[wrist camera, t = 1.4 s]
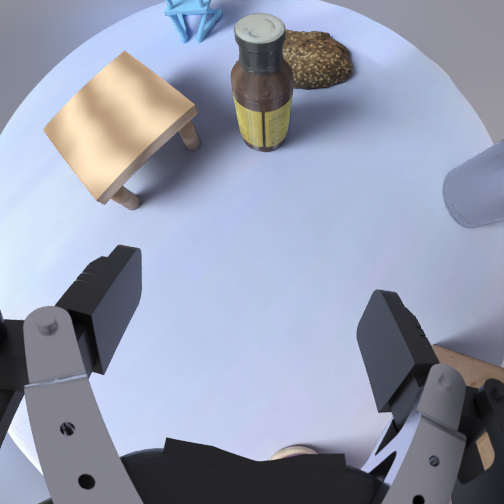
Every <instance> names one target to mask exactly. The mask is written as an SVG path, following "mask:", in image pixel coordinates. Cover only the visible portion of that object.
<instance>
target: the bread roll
mask: <svg viewBox="0 0 504 504" xmlns="http://www.w3.org/2000/svg"><path fill="white" fill-rule="evenodd" d="M285 33H286V34H285V36H286V39H285V42H284V44H283V58H284V59H285V60H286V61H287V62H288V64H289V65H290V67H291V69H292V72H293V88H302V89H312V88H314V89H316V88H327V87H329V86H332V85H333V84H338V83H340V82H343V81H346V80H347V79H348V78H349V77H350V75H351V74H352V73H353V69H352V68H353V65H352V63H351V59H350V52H349V50H348V49H347V48H346V47H345V46H344V45H342V44H341V43H339V42H337V41H335V40H334V39H332V38H331V37H330V34H329V33H324V32H317V31H311V32H304V31H301V32H298V31H292V30H291V31H290V30H288V29H287V30H285Z"/></svg>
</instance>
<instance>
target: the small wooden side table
mask: <svg viewBox="0 0 504 504" xmlns="http://www.w3.org/2000/svg"><path fill="white" fill-rule="evenodd" d="M197 114H198V112H197V109H196V106H195V104H194V103H192V102H191V101H190V100H189V99H187V98H186V97H185V96H184V95H182V94H181V93H180V92H179V91H177V90H176V89H175V88H173V87H172V86H171V85H170V84H168V83H167V82H166V81H164V80H163V79H162V78H161V77H159V76H158V75H157V74H155V73H154V72H153V71H151V70H150V69H149V68H147V67H146V66H145V65H143V64H142V63H141V62H139V61H138V60H137V59H135V58H134V57H132V56H131V55H130V54H128V53H127V52H126V51H124V52H123V53H121V54H120V55H119V56H118V57H117V58H115V59H114V60H113V61H112V62H111V63H109V64H108V65H107V66H106V67H105V68H104V69H102V70H101V71H100V72H99V73H98V74H97V75H96V76H95V77H94V78H92V79H91V80H90V81H89V82H88V83H87V84H86V85H85V86H84V87H83V88H82V89H81V90H80V91H79V92H78V93H77V94H76V95H75V96H74V97H73V98H72V99H71V100H70V101H69V102H68V103H67V104H66V105H65V106H64V107H63V108H62V109H61V110H60V111H59V112H58V113H57V114H56V115H55V116H54V117H53V119H52V120H51V121H50V122H49V123H48V124H47V125H46V126H45V128H44V129H43V130H44V132H45V133H46V135H47V136H48V138H49V139H50V140H51V142H52V143H53V144H54V146H55V147H56V149H57V150H58V151H59V153H60V154H61V155H62V157H63V158H64V159H65V161H66V162H67V163H68V165H69V166H70V167H71V169H72V170H73V171H74V173H75V174H76V175H77V177H78V178H79V179H80V181H81V182H82V183H83V184H84V186H85V187H86V188H87V189H88V191H89V192H90V193H91V195H92V196H93V197H94V198H95V200H96V201H98V202H100V203H102V204H104V205H105V204H106V203H107V202H108V201H109V200H110V199H112V200H114V201H116V202H117V203H119V204H121V205H123V206H124V207H126V208H128V209H130V210H135V209H137V208H138V207H139V205H140V199H139V197H138V196H136V195H135V194H133V193H132V192H131V191H129V190H128V189H126V188H125V187H124V186H123V185H124V184H125V182H126V181H127V180H128V179H129V178H130V177H131V176H132V175H133V174H134V173H135V172H136V171H137V170H138V169H139V168H140V167H141V166H142V165H143V164H144V163H145V162H146V161H147V160H148V159H149V158H150V157H151V156H152V155H153V154H154V153H155V152H156V151H157V150H159V149H160V148H161V147H162V146H163V145H164V144H165V143H166V142H167V141H168V140H169V139H170V138H171V137H172V136H174V135H175V134H176V133H177V132H178V133H179V135H180V137H181V139H182V141H183V142H184V144H185V146H186V148H187V149H188V150H190V151H194V150H197V149H198V148H199V146H200V140H199V138H198V135H197V133H196V130H195V128H194V126H193V123H192V121H191V120H192V119H193V118H194V117H195V116H196V115H197Z"/></svg>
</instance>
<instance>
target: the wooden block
mask: <svg viewBox="0 0 504 504" xmlns="http://www.w3.org/2000/svg"><path fill="white" fill-rule="evenodd" d="M432 348H433V350H434V352H435V354H436V356H437V358H438V360H439V362H440V364H446V365H449V366H451V367H453V368H454V369H456V370H457V371H458V372H459V373H460V374H461V376H462V377H463V379H464V381H465V384H466V385H467V386H471V387H475V388H478V389H479V388H480V387H481V386H482V385H483V384H484V382H485V381H486V380H487V379H489V378H494V379H497V380H499V381H501V382H502V383H504V368H502V367H499V366H496V365H493V364H490V363H487V362H484V361H481V360H478V359H475V358H472V357H469V356H466V355H463V354H460V353H457V352H454V351H451V350H448V349H445V348H443V347H440V346H437V345H433V346H432ZM476 444H477V447H478V450H479V453H480V456H481V460H482V463H483V466H484V470H486V469H488V468H489V467H490V466H491V465H492V463H493V461H494V450H493V447H492V445H491V442H490V439H489V436H488V433H487V432H486V433H485V434H484V435H483V436H481V437H480V438H479V439H478V440H477V441H476Z"/></svg>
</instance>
